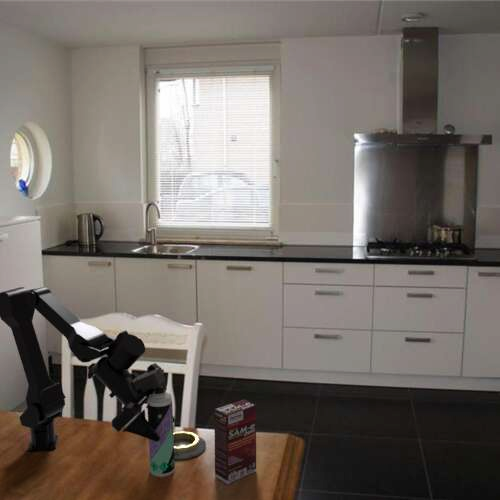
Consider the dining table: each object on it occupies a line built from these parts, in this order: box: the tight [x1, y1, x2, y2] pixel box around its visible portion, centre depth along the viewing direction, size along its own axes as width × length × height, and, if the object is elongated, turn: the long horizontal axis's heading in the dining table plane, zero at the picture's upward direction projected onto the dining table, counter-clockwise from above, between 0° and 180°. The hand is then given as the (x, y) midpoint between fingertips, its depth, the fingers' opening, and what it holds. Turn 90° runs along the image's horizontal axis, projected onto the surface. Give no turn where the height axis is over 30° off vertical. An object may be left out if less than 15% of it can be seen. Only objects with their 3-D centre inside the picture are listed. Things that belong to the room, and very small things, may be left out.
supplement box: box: [213, 399, 257, 485], centre depth 139 cm, size 9×5×16 cm, turn 131°
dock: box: [173, 430, 207, 461], centre depth 152 cm, size 12×12×2 cm
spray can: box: [146, 385, 176, 478], centre depth 140 cm, size 6×6×20 cm
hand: (166, 431), depth 140 cm, fingers open, 9 cm apart
